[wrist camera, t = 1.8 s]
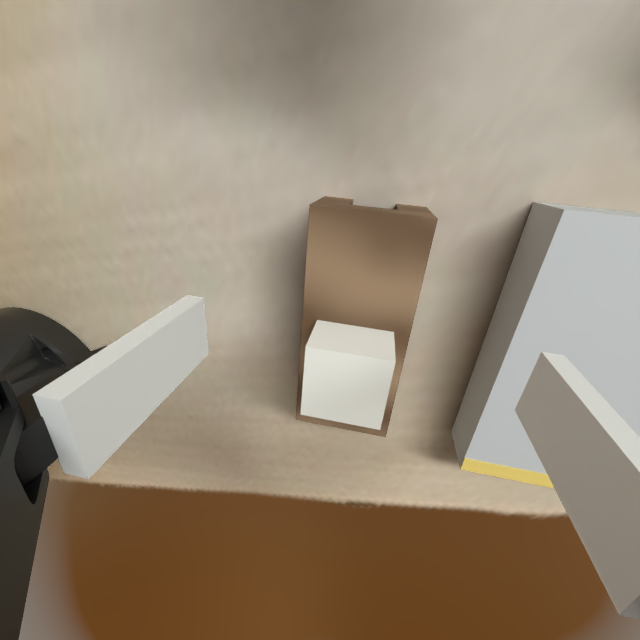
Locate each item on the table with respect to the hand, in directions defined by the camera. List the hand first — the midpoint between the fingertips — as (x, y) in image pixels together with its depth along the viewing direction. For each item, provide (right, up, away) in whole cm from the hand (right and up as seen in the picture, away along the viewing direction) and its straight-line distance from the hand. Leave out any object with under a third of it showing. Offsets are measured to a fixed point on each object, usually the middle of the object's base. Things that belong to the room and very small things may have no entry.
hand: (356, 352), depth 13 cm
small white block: (+1, -1, +9) cm, 9 cm away
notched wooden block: (+2, +2, +13) cm, 13 cm away
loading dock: (+18, -1, +11) cm, 21 cm away
